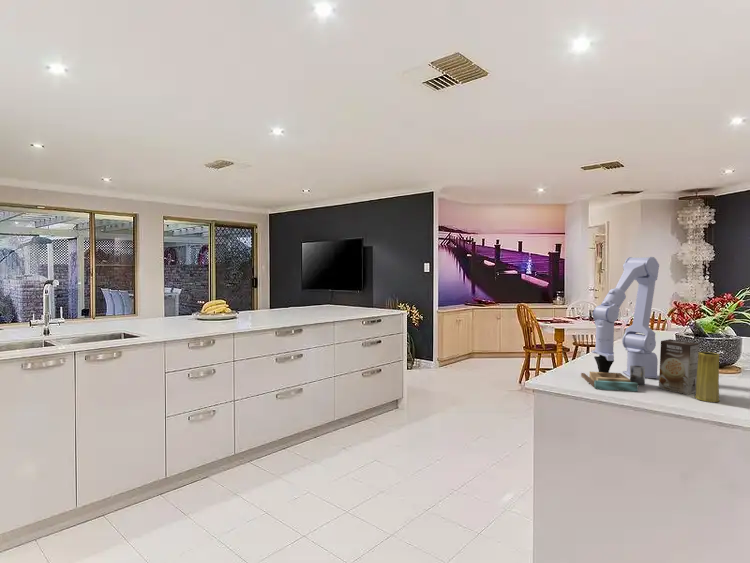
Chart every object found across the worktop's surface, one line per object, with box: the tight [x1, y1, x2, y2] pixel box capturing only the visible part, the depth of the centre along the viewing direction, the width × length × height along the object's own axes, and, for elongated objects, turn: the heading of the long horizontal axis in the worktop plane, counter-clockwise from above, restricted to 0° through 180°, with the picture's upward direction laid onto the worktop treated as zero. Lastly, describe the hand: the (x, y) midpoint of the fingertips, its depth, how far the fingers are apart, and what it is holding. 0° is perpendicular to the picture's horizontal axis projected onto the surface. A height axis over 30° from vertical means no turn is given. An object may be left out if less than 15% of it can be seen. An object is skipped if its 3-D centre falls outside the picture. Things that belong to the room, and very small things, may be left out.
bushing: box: [629, 365, 646, 387], centre depth 159 cm, size 4×4×6 cm
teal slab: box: [580, 372, 639, 392], centre depth 159 cm, size 13×18×2 cm
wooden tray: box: [588, 371, 630, 382], centre depth 157 cm, size 10×10×3 cm
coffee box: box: [658, 339, 700, 395], centre depth 151 cm, size 9×6×16 cm
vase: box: [694, 351, 720, 403], centre depth 140 cm, size 6×6×14 cm
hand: (603, 377), depth 164 cm, fingers closed
